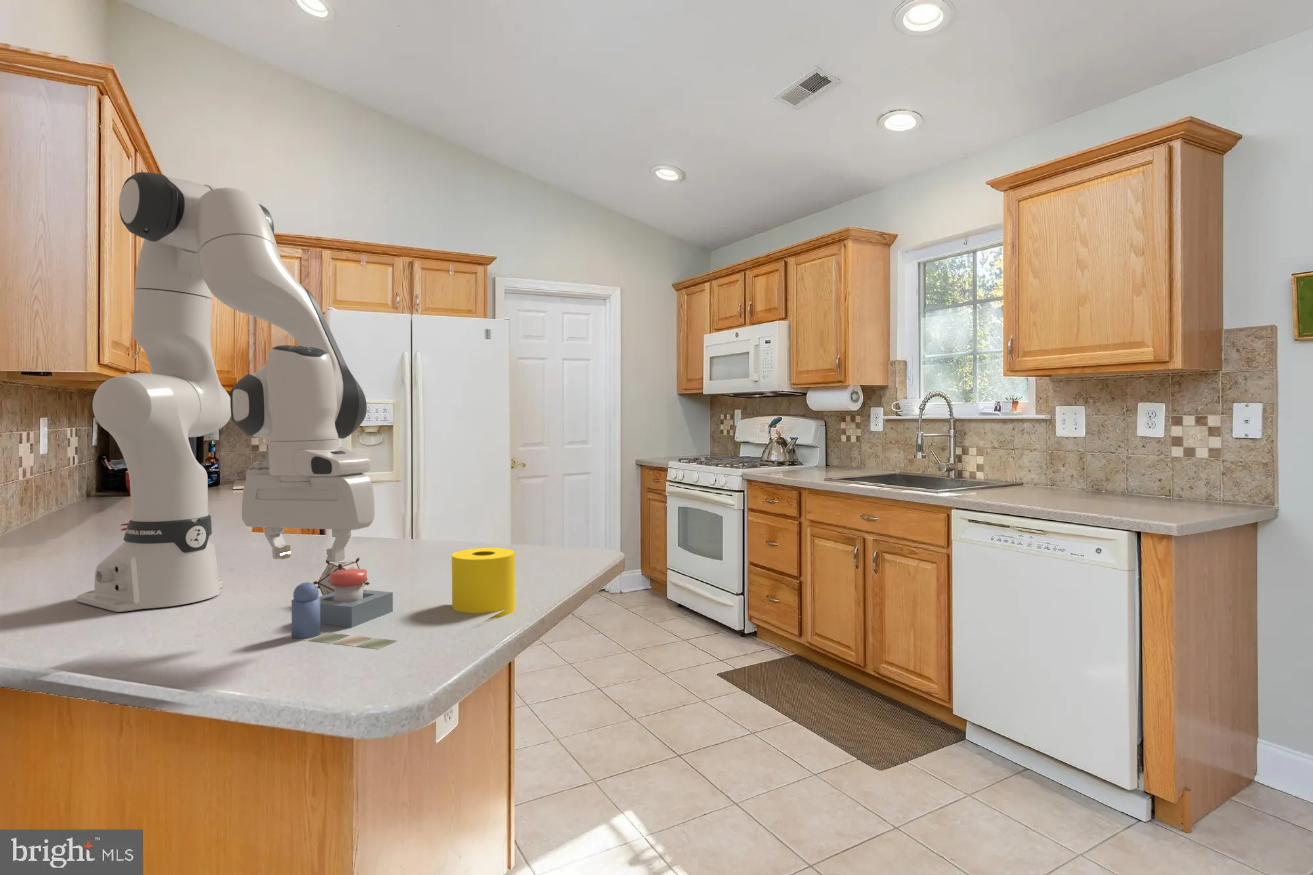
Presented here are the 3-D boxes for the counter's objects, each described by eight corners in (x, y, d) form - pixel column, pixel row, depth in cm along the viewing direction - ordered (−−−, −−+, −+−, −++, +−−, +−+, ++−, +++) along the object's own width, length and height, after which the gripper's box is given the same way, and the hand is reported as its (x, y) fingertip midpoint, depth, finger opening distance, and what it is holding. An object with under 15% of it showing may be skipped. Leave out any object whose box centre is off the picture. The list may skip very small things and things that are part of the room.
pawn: (285, 637, 98) (285, 584, 98) (306, 629, 101) (306, 578, 101) (305, 640, 97) (305, 586, 96) (326, 632, 100) (326, 581, 100)
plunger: (322, 620, 107) (322, 574, 106) (347, 611, 111) (346, 567, 111) (350, 623, 105) (350, 577, 105) (374, 614, 110) (374, 570, 110)
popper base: (302, 628, 105) (302, 601, 105) (346, 612, 114) (346, 588, 114) (352, 634, 103) (351, 606, 102) (392, 617, 111) (392, 592, 111)
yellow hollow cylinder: (527, 610, 115) (526, 553, 115) (472, 623, 108) (471, 562, 108) (494, 599, 122) (493, 545, 122) (441, 610, 115) (440, 553, 115)
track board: (271, 649, 96) (271, 642, 96) (316, 632, 103) (316, 625, 103) (368, 662, 91) (368, 654, 91) (408, 643, 98) (408, 636, 98)
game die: (346, 630, 116) (342, 592, 111) (305, 610, 118) (298, 571, 112) (381, 594, 123) (379, 556, 117) (341, 575, 125) (337, 536, 119)
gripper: (227, 463, 98) (231, 561, 99) (347, 462, 92) (351, 567, 92) (265, 460, 104) (268, 552, 105) (380, 459, 98) (383, 557, 99)
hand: (308, 559), depth 99 cm, fingers open, 8 cm apart
